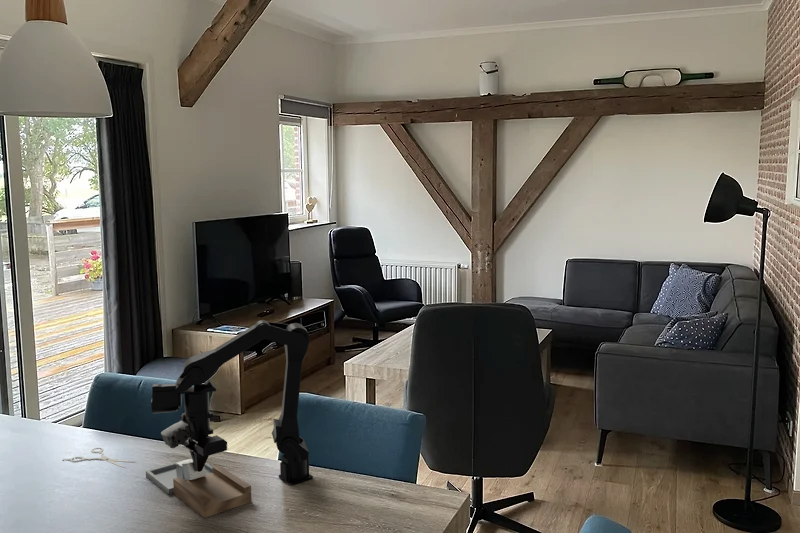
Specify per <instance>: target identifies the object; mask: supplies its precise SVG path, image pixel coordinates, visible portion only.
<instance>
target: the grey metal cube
mask: <svg viewBox="0 0 800 533" xmlns="http://www.w3.org/2000/svg"><path fill="white" fill-rule="evenodd" d="M187 459H188V460H186V459H183V460H184V461H183V460H180V461H181V462H179V461H176V462H177V463H176V462H175V463H176V474H177V477H181V478H183V479H184V473H183V467H182V463H186V462H189V461H193V460H192V459H190V458H187ZM184 480H185V479H184ZM185 481H187V480H185Z"/></svg>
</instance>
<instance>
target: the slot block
mask: <svg viewBox="0 0 800 533" xmlns="http://www.w3.org/2000/svg"><path fill="white" fill-rule="evenodd" d="M212 469H213V473H210V474H207V475H206V476H203V477H200V478H196V479H193V480H187V481H185V480H184V479H183V478H181V477H177V478H174V479H173V486H174V494H173V496H175V497H176V498H178V499H179V500H180V499H181V500H180V501H181V502H183V503H184V504H185V503H186V504H185V505H187V507H189V508H190V509H192V510H193V511H194V512H196V513H197V514H198V515H199V514H200V515H199V516H201V517H202V518H203V517H204V518H203V519H206V518H205V517H207V518H209V517H208V516H210V517H212V516H211V515H213V516H215V515H214V514H216V515H218V514H221V513H224V512H226V510H227V511H229V509H230V510H232V508H233V509H234V508H237V507H241V506H244V505H246V504H250V503H253V502H252V485H250V484H249V483H247V482H246V481H245V480H243V479H241V478H240V477H238V476H237V475H235V474H233V473H232V472H230V471H229V470H227V469H226V468H224V467H223V466H221V465H220V464H218V465H214V466H212ZM223 511H224V512H223ZM220 512H221V513H220ZM217 513H218V514H217Z"/></svg>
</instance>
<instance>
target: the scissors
mask: <svg viewBox="0 0 800 533" xmlns="http://www.w3.org/2000/svg"><path fill="white" fill-rule="evenodd" d="M94 449H95V450H98V451H95V450H94ZM90 452H91V453H93V454H100V453H101V454H100V456H99V457H92V458H91V457H90V458H86V457H84V456H75V457H71V458H63V459H62V460H63V462H65V461H64V460H68V461H69V462H71V461H73V462H72V463H79V462H78V461H80V462H83V460H84V461H95V459H96V460H97V461H105V462H108V463H110V464H113V465H115V466H118V467H121V468H125V469H126V467H125V466H123V465H121V464H120V463H118V462H123V463H124V462H126V463H134V461H133V460H126V459H118V458H110V457H109V456H107V455H104V448H102V447H94V448H92V449H91V451H90ZM74 458H76V459H75V460H74ZM81 458H82V459H81ZM72 459H73V460H72ZM62 460H61V461H62Z"/></svg>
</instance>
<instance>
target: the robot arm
mask: <svg viewBox="0 0 800 533" xmlns="http://www.w3.org/2000/svg"><path fill="white" fill-rule="evenodd" d="M310 337H311V336H310V333H309V332H308V330H307V329H306V328H305V326H303V324H301V323H298V322H294V323H290V324H288V323H281V322H275V321H274V322H272V321H267V320H265V319H261V320H258V321H256V322H255V323H254V324H253V325H251V326H250V327H249V328H246V329H245V330H243V331H241V332H240V333H238V334H237V335H235V336H234V337H231V338H230V339H228V340H226V341H224V343H222V344H220V345H219V346H217V347H215V348H212V349H210V350H208V351H207V350H206V351H202V352H200V353H197V354H196V355H193V356H190V357H189V358H187V359H185V360H186V361H184V364H183V370H182V373H181V374H180V375H179V377H178V378H177V379H176V382H175V383H166V384H162V383H153V384H152V385H151V391H152V392H151V393H152V394H151V401H150V406H151V413H152V414H163V413H164V414H165V413H176V412H178V410H180V408H182V402H183V401H184V413H183V412H182V413H181V415H180V420H179V421H177V422H176V423H173V424H172V425H170V426H168V427H167V428H165V429H163V430H162V431H161V432H160V435H161V437H162V439H163V442H164V444H165V445H166V446H168V447H169V448H171V449H174V448H177V447H178V446H179V445H182V446H183V447H185V448H187V449H188V451H189V454H190V456H191V458H192V459H193V462H194V465H195V468H196V471H198V472H200V471H202V470H203V467H204V465H205V463H207V460H208V459H209V457H210V456H212V455H216V454H219V453H223V452H226V451H228V441H227V440H225V439H224V438H223V437H220V436H219V435H213V434H214V429H213V428H211V421H210V419H211V418H213V417H214V413H213V412H211V411H210V393H213V392H216V391H218V390H217V385H216V384H215V383H213V381H211V379H210V378H211V377H212V376H213V375H214V374H216V372H217V371H218V370H219V369H220V368H221V367H222V366H223V365H224V364H225V363H228V362H229V361H230V360H232V359H234V358H236V357H237V356H239V355H240V354H242V353H244V352H245V351H247V350H249V349H250V348H251V347H253V346H254V345H257V344H258V343H259V342H261V341H264V340H267V341H271V342H275V343H277V344H280V345H283V346H284V352H285V360H286V362H285V371H284V382H283V393H282V401H281V402H282V403H281V411H280V412H281V413H280V415H279V417H278V418H273V430H272V432H271V436H272V439H273V443H274V444H275V445H276V447H277V450H278V451H279V452H280V453H281V454H283V455H281V462H280V463H279V467H280V468H279V469H280V471H279V473H280V474H279V475H278V478H279V479H280V480H282V481H284V482H286V483H288V484H289V485H291V486H294V485H296V484H297V485H298V484H300V483H303V482H305V481H308V480H309V481H310V480H311V479H313V477H314V476H313V475H312V474H310V452H309V449H308V447H307V445H306V442H305V439H304V438H303V437H302V436H300V428H299V421H298V412H299V400H300V392H301V391H300V390H301V380H302V369H303V368H302V367H303V362H304V359H305V358H306V356H307V352H308V349H309V347H310V342H311V338H310ZM182 395H183V397H184V398H183V397H182ZM182 398H183V399H184V400H182ZM212 435H213V436H212Z"/></svg>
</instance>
